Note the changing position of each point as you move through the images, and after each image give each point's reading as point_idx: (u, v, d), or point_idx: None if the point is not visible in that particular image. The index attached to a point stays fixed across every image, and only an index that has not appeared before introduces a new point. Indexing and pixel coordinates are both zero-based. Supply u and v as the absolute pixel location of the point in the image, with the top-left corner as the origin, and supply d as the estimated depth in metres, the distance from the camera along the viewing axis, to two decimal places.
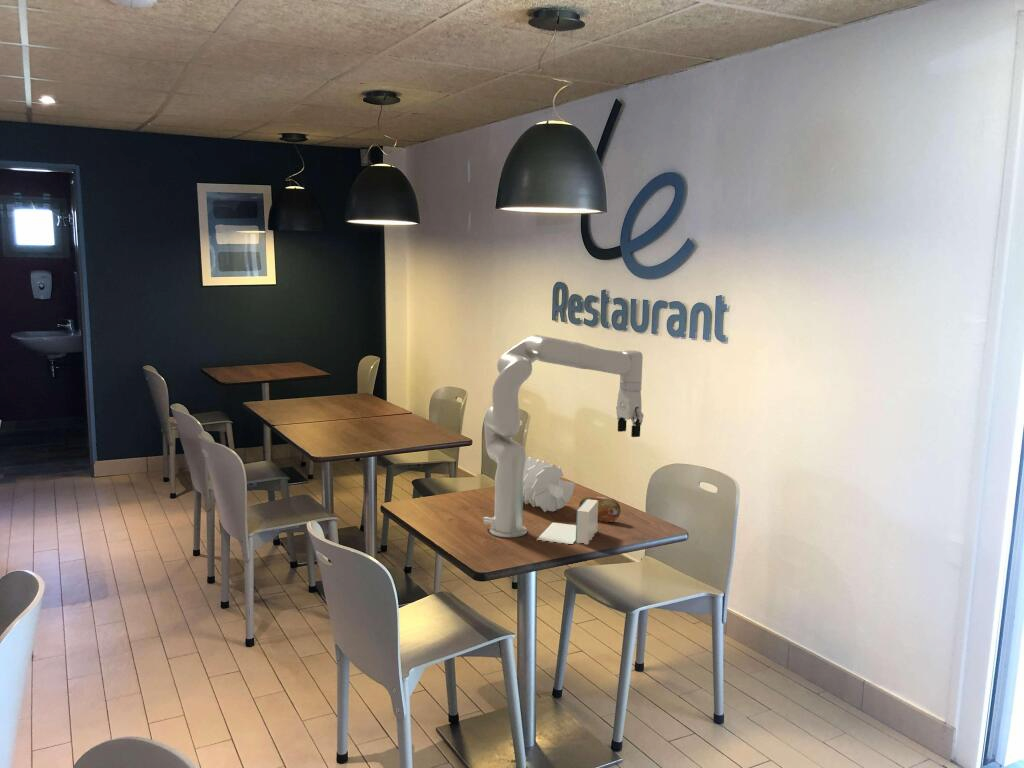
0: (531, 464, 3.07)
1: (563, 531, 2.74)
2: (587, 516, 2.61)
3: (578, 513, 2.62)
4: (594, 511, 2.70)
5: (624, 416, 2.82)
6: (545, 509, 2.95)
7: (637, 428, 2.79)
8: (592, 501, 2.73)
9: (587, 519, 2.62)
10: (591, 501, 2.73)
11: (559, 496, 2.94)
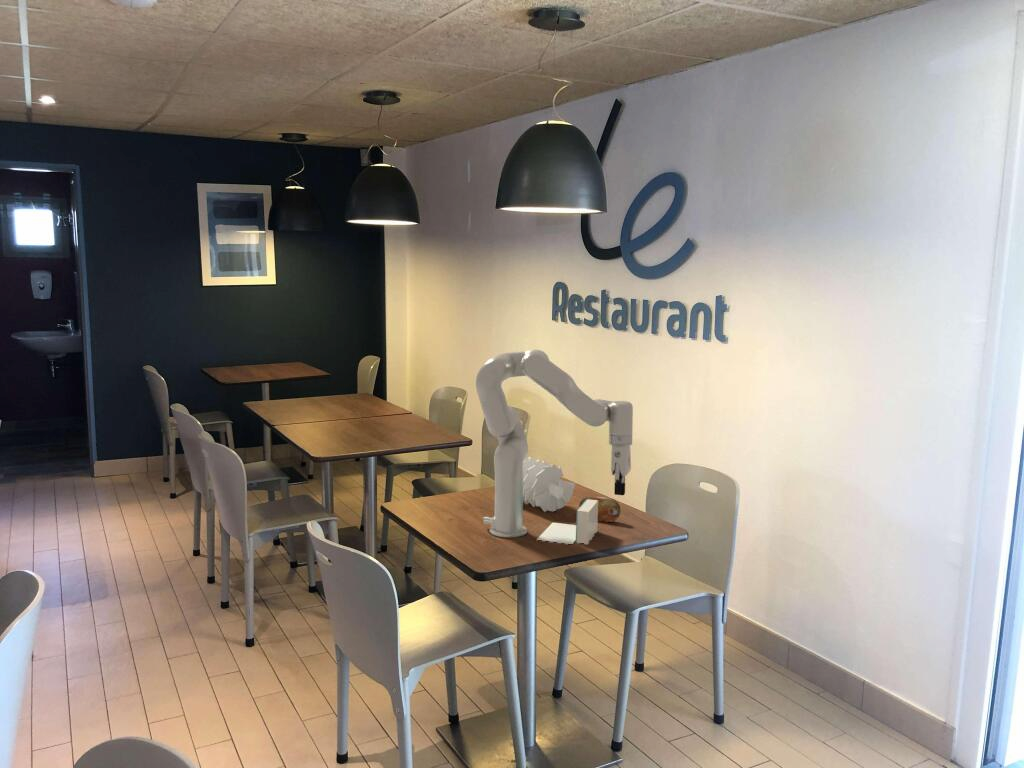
0: (531, 464, 3.07)
1: (563, 531, 2.74)
2: (587, 516, 2.61)
3: (578, 513, 2.62)
4: (594, 511, 2.70)
5: (629, 470, 2.64)
6: (545, 509, 2.95)
7: None
8: (592, 501, 2.73)
9: (587, 519, 2.62)
10: (591, 501, 2.73)
11: (559, 496, 2.94)
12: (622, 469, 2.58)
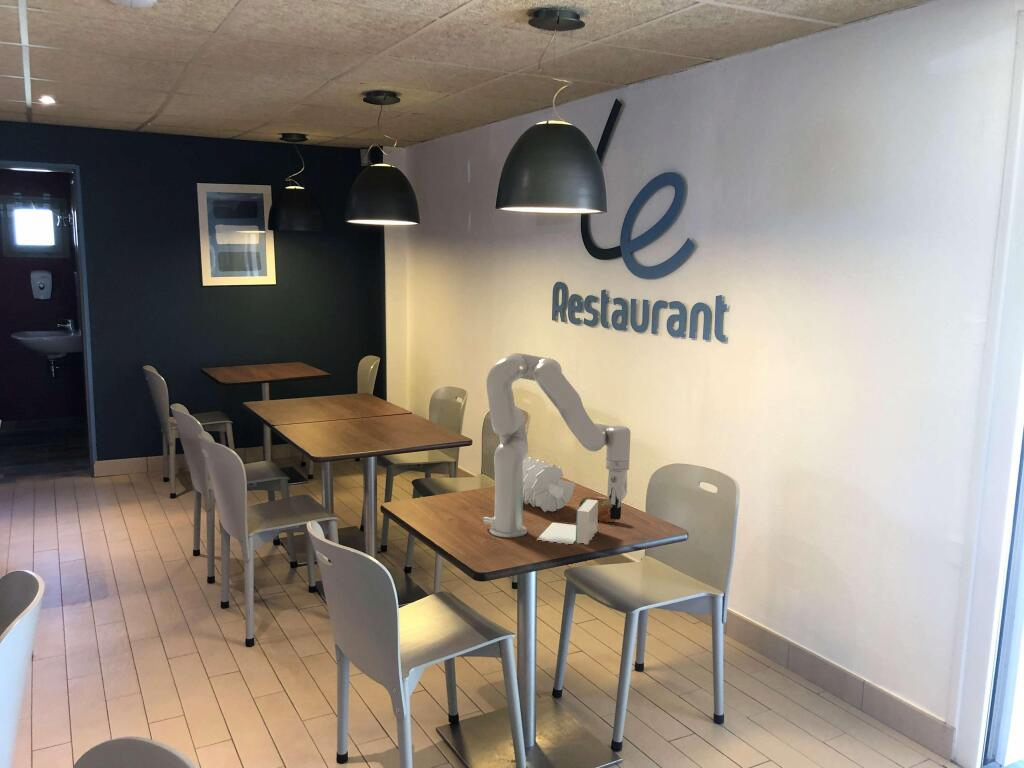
0: (531, 464, 3.07)
1: (563, 531, 2.74)
2: (587, 516, 2.61)
3: (578, 513, 2.62)
4: (594, 511, 2.70)
5: (625, 494, 2.65)
6: (545, 509, 2.95)
7: None
8: (592, 501, 2.73)
9: (587, 519, 2.62)
10: (591, 501, 2.73)
11: (559, 496, 2.94)
12: (618, 494, 2.59)
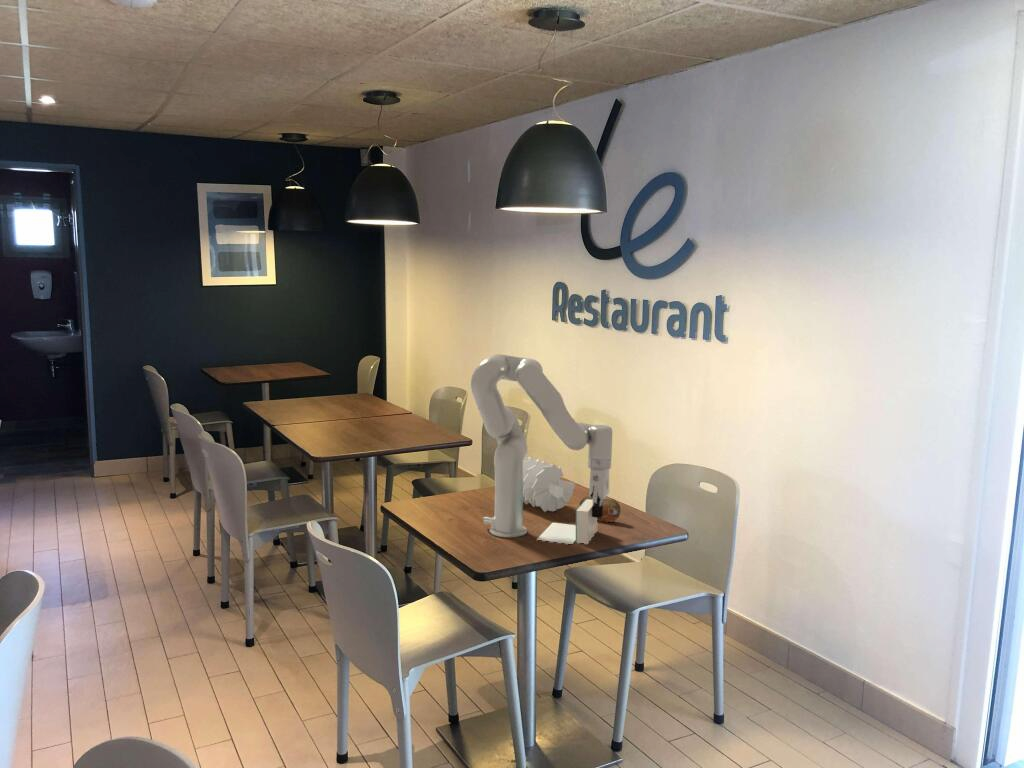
0: (531, 464, 3.07)
1: (563, 531, 2.74)
2: (586, 516, 2.62)
3: (577, 513, 2.62)
4: None
5: (607, 493, 2.67)
6: (545, 509, 2.95)
7: None
8: (591, 501, 2.73)
9: (586, 519, 2.62)
10: (590, 501, 2.73)
11: (559, 496, 2.94)
12: (600, 493, 2.61)
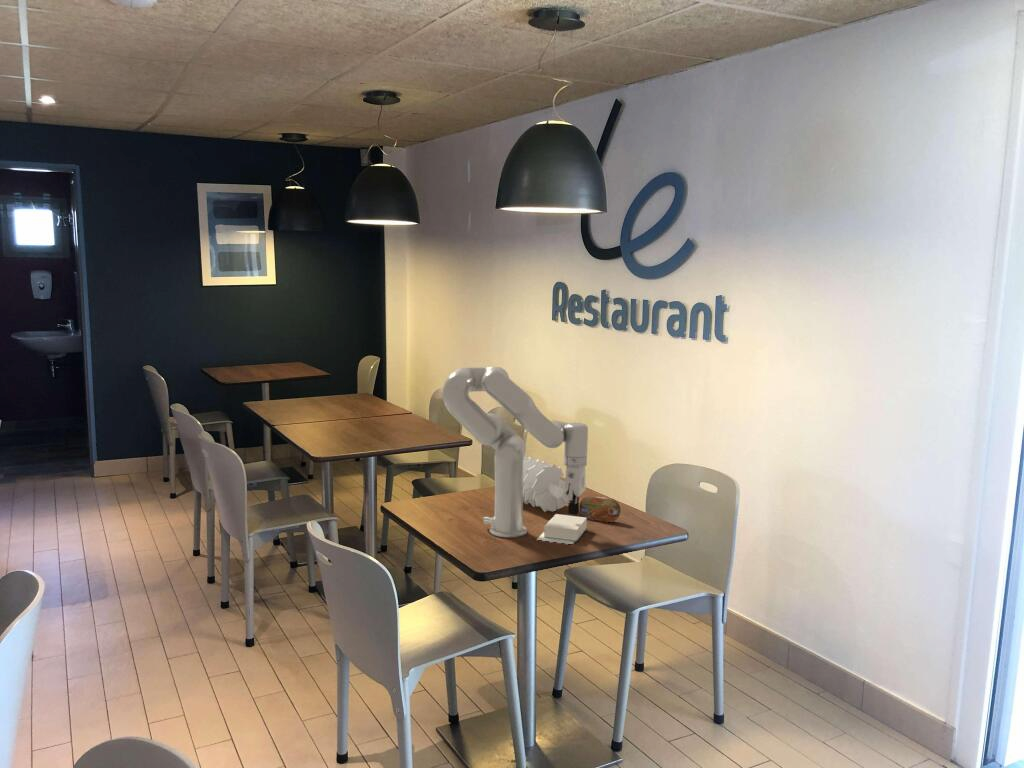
0: (531, 464, 3.07)
1: None
2: (548, 527, 2.66)
3: (546, 535, 2.67)
4: (558, 519, 2.74)
5: (583, 490, 2.70)
6: (545, 509, 2.95)
7: None
8: None
9: (551, 527, 2.66)
10: None
11: (559, 496, 2.94)
12: (575, 490, 2.64)
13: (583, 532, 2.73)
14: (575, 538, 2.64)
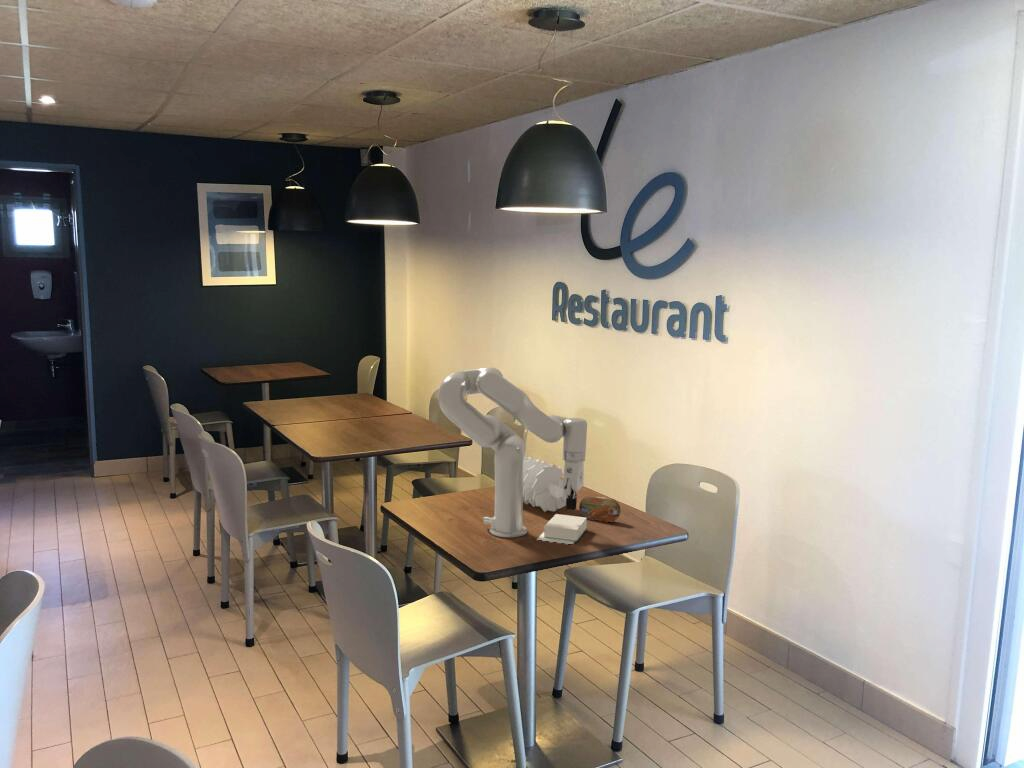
0: (531, 464, 3.07)
1: None
2: (548, 527, 2.66)
3: (546, 535, 2.67)
4: (558, 519, 2.74)
5: (581, 485, 2.70)
6: (545, 509, 2.95)
7: None
8: None
9: (551, 527, 2.66)
10: None
11: (559, 496, 2.94)
12: (573, 485, 2.64)
13: (583, 532, 2.73)
14: (575, 538, 2.64)
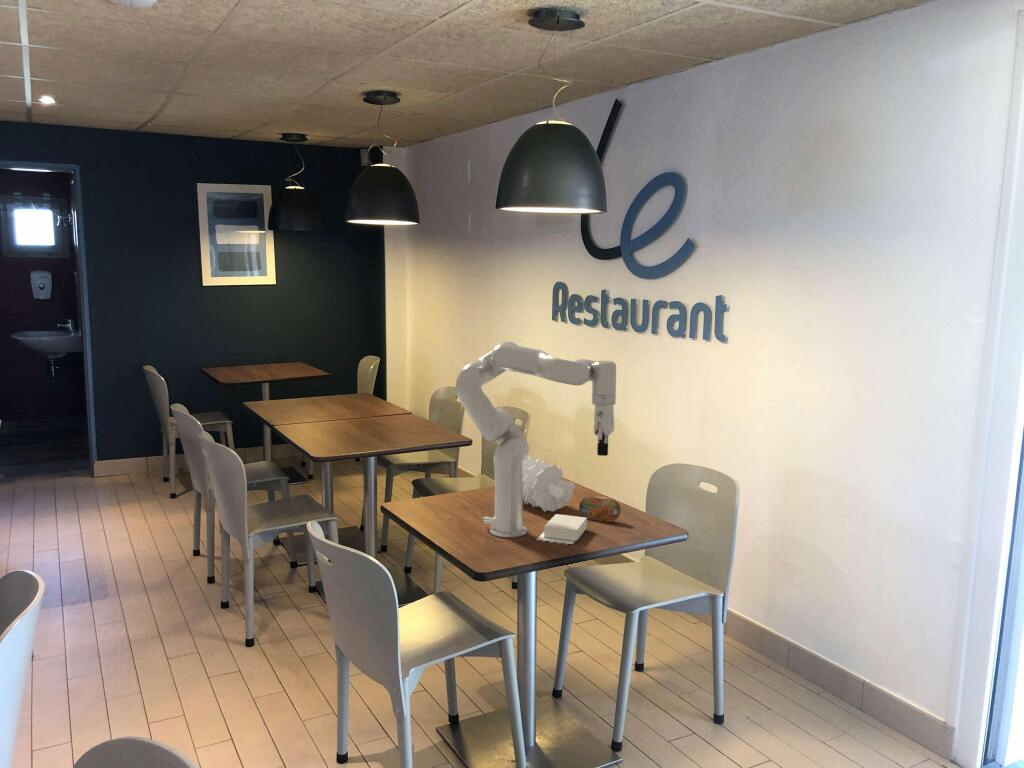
0: (531, 464, 3.07)
1: None
2: (548, 527, 2.66)
3: (546, 535, 2.67)
4: (558, 519, 2.74)
5: (612, 430, 2.62)
6: (545, 509, 2.95)
7: None
8: None
9: (551, 527, 2.66)
10: None
11: (559, 496, 2.94)
12: (605, 429, 2.56)
13: (583, 532, 2.73)
14: (575, 538, 2.64)
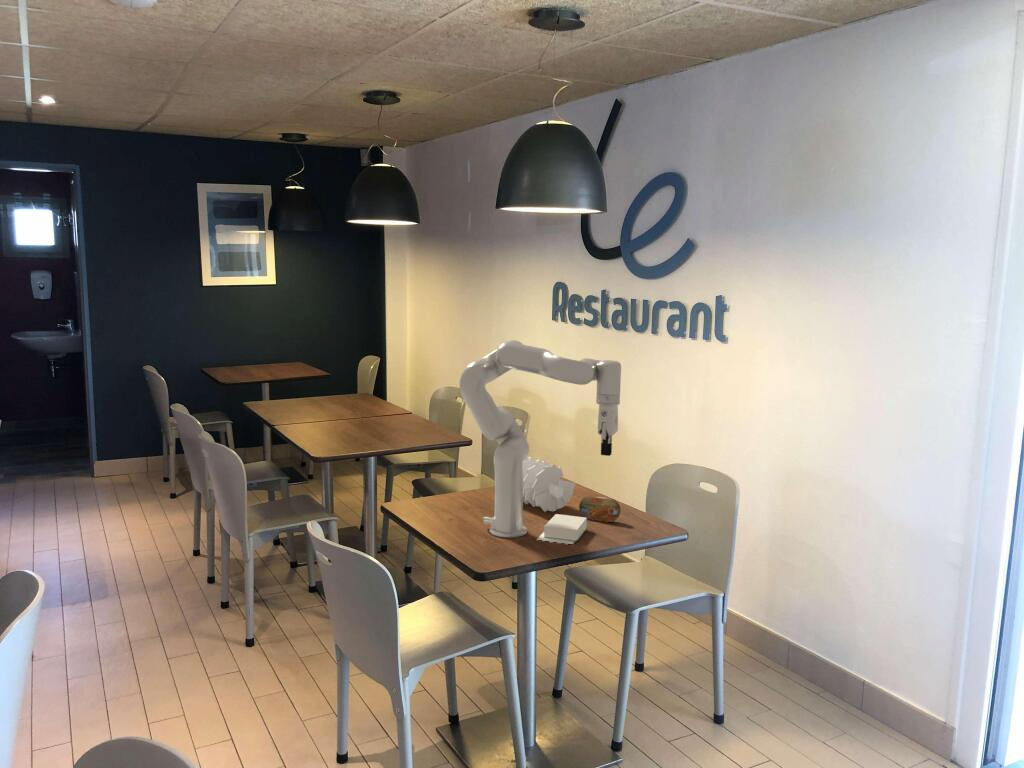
0: (531, 464, 3.07)
1: None
2: (548, 527, 2.66)
3: (546, 535, 2.67)
4: (558, 519, 2.74)
5: (616, 430, 2.61)
6: (545, 509, 2.95)
7: None
8: None
9: (551, 527, 2.66)
10: None
11: (559, 496, 2.94)
12: (609, 428, 2.55)
13: (583, 532, 2.73)
14: (575, 538, 2.64)
